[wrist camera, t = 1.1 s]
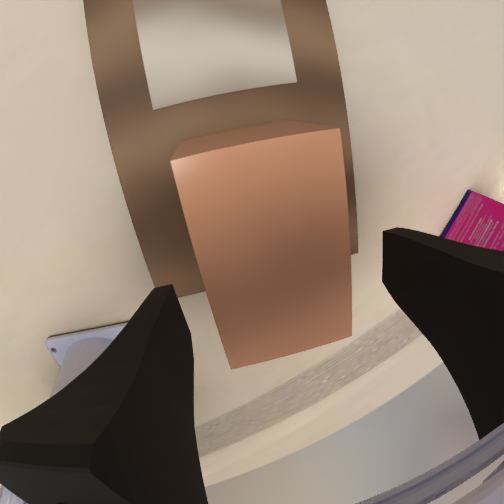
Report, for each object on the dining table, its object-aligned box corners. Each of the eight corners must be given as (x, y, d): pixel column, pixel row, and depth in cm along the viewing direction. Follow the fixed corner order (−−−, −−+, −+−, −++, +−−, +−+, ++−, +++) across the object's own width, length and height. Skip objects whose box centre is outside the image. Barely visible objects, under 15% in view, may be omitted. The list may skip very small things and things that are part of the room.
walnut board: (351, 246, 21) (359, 253, 20) (161, 293, 20) (160, 302, 19) (294, -80, 11) (300, -88, 10) (83, -46, 10) (78, -53, 9)
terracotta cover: (305, 266, 20) (351, 335, 14) (217, 288, 20) (231, 369, 13) (284, 120, 16) (339, 128, 10) (180, 141, 16) (170, 160, 10)
